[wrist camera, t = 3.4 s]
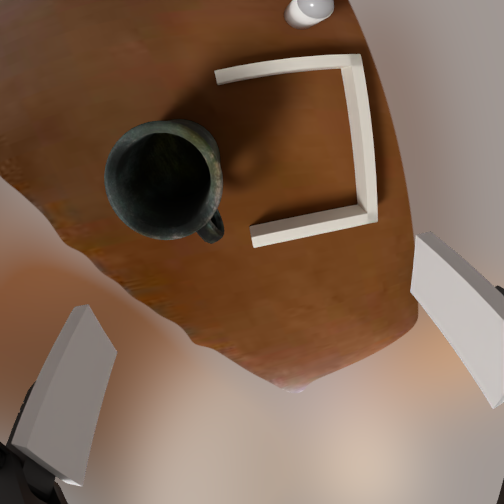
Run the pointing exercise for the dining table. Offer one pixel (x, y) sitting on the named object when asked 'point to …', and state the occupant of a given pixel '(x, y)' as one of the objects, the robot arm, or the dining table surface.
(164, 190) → the mug
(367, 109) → the corral
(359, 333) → the dining table surface
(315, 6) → the cylinder
